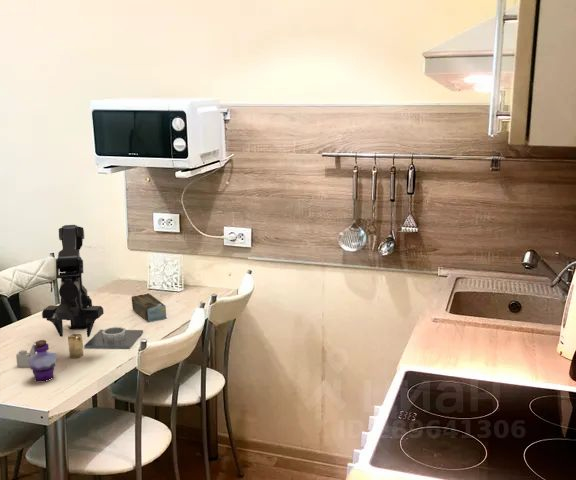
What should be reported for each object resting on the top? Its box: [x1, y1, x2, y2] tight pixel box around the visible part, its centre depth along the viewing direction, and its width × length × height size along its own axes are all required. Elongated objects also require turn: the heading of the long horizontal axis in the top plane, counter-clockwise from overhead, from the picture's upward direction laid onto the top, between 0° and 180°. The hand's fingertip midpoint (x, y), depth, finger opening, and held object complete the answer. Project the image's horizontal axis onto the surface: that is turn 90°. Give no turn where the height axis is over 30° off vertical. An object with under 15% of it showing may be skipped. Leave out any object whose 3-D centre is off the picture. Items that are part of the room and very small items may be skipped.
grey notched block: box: [15, 341, 36, 368], centre depth 201 cm, size 7×2×8 cm, turn 90°
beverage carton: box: [131, 292, 167, 323], centre depth 252 cm, size 8×19×7 cm, turn 32°
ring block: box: [83, 326, 144, 350], centre depth 224 cm, size 16×16×4 cm
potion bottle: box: [28, 339, 57, 382], centre depth 191 cm, size 9×9×12 cm
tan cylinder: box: [67, 333, 84, 360], centre depth 209 cm, size 4×4×7 cm
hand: (75, 336), depth 209 cm, fingers open, 9 cm apart
